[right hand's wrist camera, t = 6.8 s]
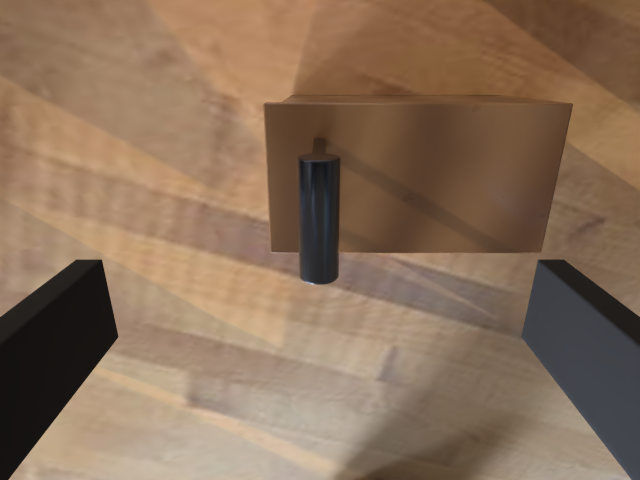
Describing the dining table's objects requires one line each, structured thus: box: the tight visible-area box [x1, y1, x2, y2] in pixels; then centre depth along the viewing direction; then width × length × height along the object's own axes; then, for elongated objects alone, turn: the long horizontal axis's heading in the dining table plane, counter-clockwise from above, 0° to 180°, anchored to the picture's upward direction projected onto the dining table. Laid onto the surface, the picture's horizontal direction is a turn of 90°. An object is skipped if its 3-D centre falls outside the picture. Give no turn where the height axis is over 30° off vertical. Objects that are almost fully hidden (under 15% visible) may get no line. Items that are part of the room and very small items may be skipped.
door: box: [263, 102, 573, 284], centre depth 23 cm, size 18×10×9 cm, turn 90°
